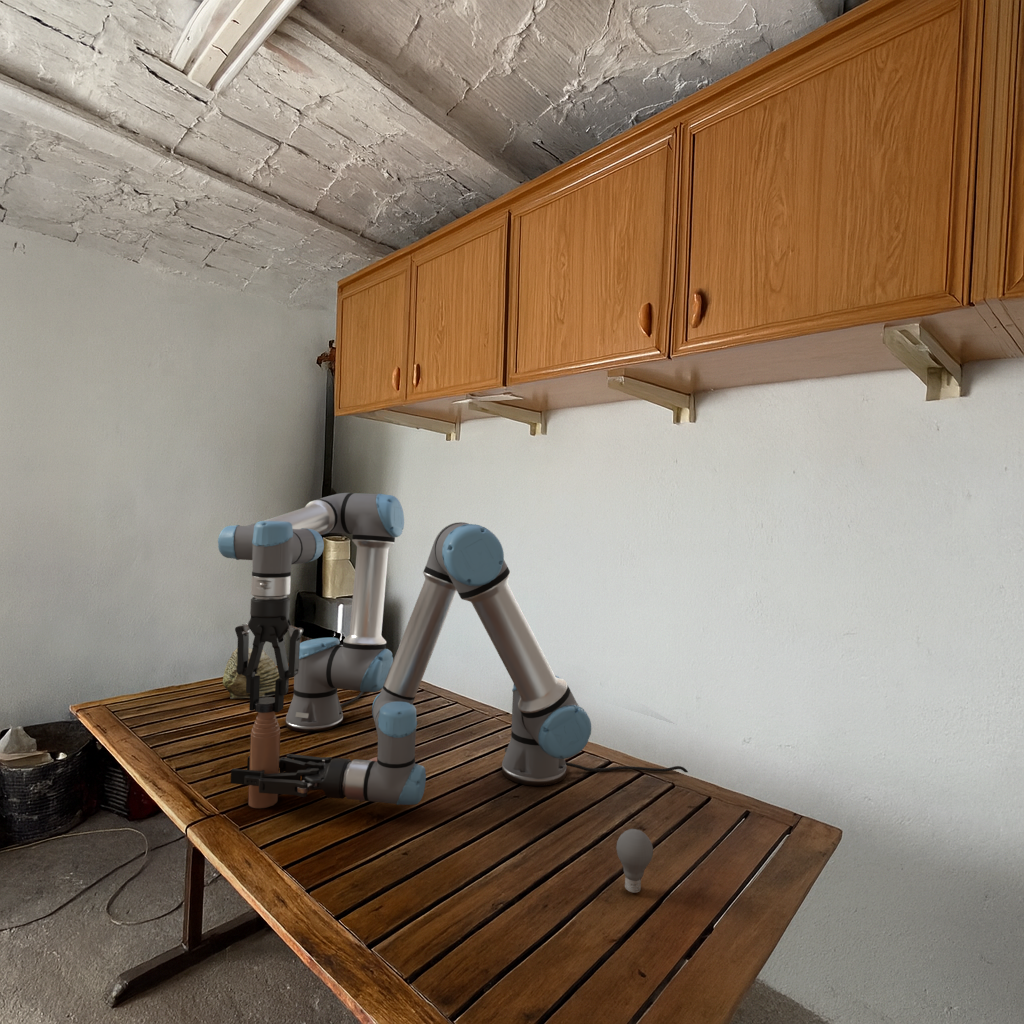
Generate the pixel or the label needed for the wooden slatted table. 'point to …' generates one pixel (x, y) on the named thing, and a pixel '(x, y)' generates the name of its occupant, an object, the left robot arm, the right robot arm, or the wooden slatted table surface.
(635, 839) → the light bulb
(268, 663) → the fossil
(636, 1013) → the wooden slatted table surface
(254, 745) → the bottle
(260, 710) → the cap
